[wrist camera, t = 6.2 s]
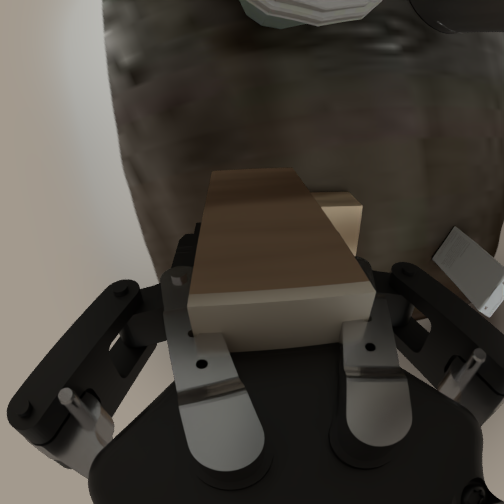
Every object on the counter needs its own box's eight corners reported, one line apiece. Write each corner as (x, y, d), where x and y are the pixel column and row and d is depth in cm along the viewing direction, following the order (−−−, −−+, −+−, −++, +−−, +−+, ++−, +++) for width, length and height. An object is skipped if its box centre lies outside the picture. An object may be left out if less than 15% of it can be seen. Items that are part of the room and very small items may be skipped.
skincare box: (444, 268, 38) (489, 321, 27) (429, 257, 36) (477, 313, 26) (467, 235, 35) (518, 283, 25) (453, 222, 34) (509, 271, 23)
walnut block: (212, 171, 14) (186, 307, 6) (292, 167, 15) (376, 292, 6) (219, 256, 17) (215, 419, 8) (289, 252, 17) (337, 407, 9)
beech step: (246, 195, 30) (249, 211, 27) (348, 191, 31) (363, 206, 27) (249, 253, 34) (252, 275, 30) (342, 247, 34) (354, 267, 31)
